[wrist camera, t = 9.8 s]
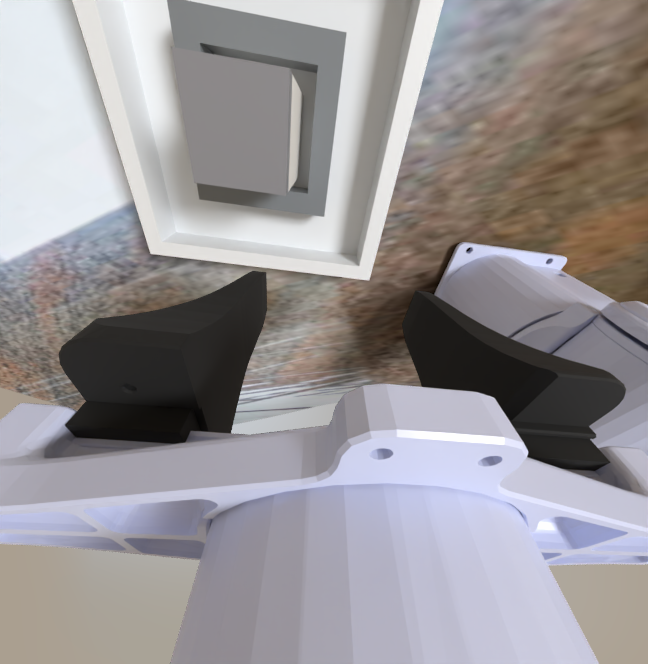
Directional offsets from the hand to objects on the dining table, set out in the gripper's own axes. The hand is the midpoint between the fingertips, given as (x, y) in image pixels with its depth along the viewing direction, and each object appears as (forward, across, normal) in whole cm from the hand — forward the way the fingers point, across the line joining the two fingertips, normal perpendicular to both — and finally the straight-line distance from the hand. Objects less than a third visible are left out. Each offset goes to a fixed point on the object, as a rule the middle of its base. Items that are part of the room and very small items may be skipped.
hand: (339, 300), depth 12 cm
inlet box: (+10, +5, -6) cm, 13 cm away
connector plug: (+9, +5, -6) cm, 12 cm away
